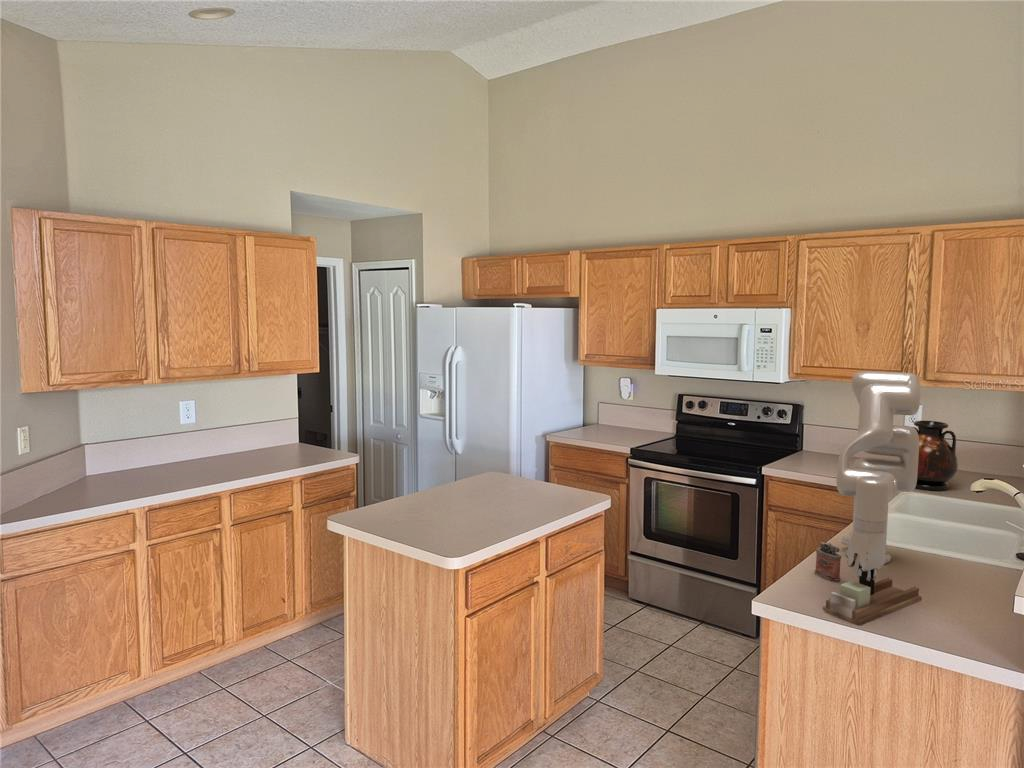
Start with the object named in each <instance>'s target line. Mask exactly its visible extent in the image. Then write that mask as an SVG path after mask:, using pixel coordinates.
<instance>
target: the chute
mask: <svg viewBox="0 0 1024 768" xmlns="http://www.w3.org/2000/svg"><path fill="white" fill-rule="evenodd" d="M919 593H920V588H919V587H916V586H913V587H911V588H907V589H905V590H904V589H902V588H898V587H895V586H893V578H890V577H887V578H885V579H884V578H883V579H881V580H878V581H876V582H875V583H874V594H873V595H870V604H869V605H866V606H864V607H861V608H858V609H856V610H855V604H856V600H854V599H851V598H849V597H846V596H843V595H841V594H840V593H838V592H836V591H832V592H830V599H826V601H825V605H824V606H822V611H823V610H824V611H823V612H825V611H826V613H828V614H830V613H831V614H830V615H832V616H834V617H835V616H836V617H837V616H838V618H840V619H843V620H845V621H848V622H850V623H853V624H855V625H857V626H861V625H864V624H866V623H870V622H871V621H874V620H876V619H878V617H879V618H881V617H884V616H886V615H888V613H889V614H891V613H894V612H896V611H899V610H900V609H903V608H906V607H908V606H910V605H913V604H915V603H917V602H920V601H922V596H921V595H919ZM890 612H891V613H890ZM883 615H884V616H883Z"/></svg>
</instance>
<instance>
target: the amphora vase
mask: <svg viewBox="0 0 1024 768" xmlns="http://www.w3.org/2000/svg"><path fill="white" fill-rule="evenodd" d="M913 425H914V426H912V427H913V428H914V429H916V431H917V433H918V436H919V456H918V474H917V484H916V487H915V489H919V490H924V491H932V492H933V491H936V492H937V491H938V492H939V491H945V490H948V489H949V488H950V483H949V481H950V480H951V479H953V478H954V477H955V476H956V474H957V472H958V468H959V467H958V465H959V463H958V457H957V455H956V450H957V449H956V446H957V435H956V434H955V432H954V431H952V430H945V431H943V430H944V429H947V428H949V424H948V423H946V422H941V421H935V420H915V421H914V422H913ZM915 426H916V427H917V428H916V427H915ZM947 434H950V435H951V438H952V442H951V443H952V444H951V445H950V443H949V442H948V441H947V440H946V438H945V436H946V435H947ZM899 460H901V458H899Z"/></svg>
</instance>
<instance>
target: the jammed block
mask: <svg viewBox="0 0 1024 768" xmlns="http://www.w3.org/2000/svg"><path fill="white" fill-rule="evenodd" d="M870 588H871V587H868V586H866V585H863V584H860V583H859V582H858V581H855V580H850V581H847V582H845V583H841V584H840V588H839V594H841V595H843V596H846V597H849V598H851V599H854V600H856V604H855V610H856V609H858V608H861V607H864V606H866V605H869V604H870Z"/></svg>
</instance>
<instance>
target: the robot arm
mask: <svg viewBox="0 0 1024 768" xmlns="http://www.w3.org/2000/svg"><path fill="white" fill-rule="evenodd" d="M851 386H852V390H853V393H854V396H855V398H856V400H857V402H858V406H859V409H858V411H859V412H858V425H857V426H858V427H857V434H856V435H855V436H854V437H853V438H851V439H850V440H849V441H848V442H847V443H846V444H845V445H844V446H843V447H842V449H841V452H840V453H839V456H838V460H837V470H836V471H837V472H836V481H835V482H836V488H837V491H838V492H839V494H840V495H842V496H845V497H852V498H853V511H852V512H853V513H852V532H851V535H850V537H847V536H842V538H841V540H840V544H841V545H844V546H847V549H846V550H845V555H846V557H847V565H848V567H849V568H853V571H852V573H853V575H855V576H857V577H858V583H860V584H863V585H866V586H868V587H871V588H870V595H873V594H874V583H876V582H875V580H876V578H877V572H878V571H879V570H880V569H881V568H882V566H884V565H885V564H889V563H890V562H892V561H891V560H892V556H891V554H889V553H888V552H887V534H888V517H889V501H890V500H892V498H893V497H894V496H895V495H896V493H897V492H899V493H910V492H913V491H914V490H915V489H916V488H915V487H916V484H917V474H918V456H919V436H918V433H917V431H916V429H917V428H916V429H914V428H913V427H914V426H910V425H903V424H902V425H900V424H894V416H895V415H896V416H897V415H899V416H914V415H916V414H917V412H918V411H919V409H920V404H921V387H920V386H921V383H920V379H919V377H918V376H917V375H916V374H914V373H912V372H903V371H902V372H898V371H897V372H896V371H876V370H872V371H871V370H869V371H868V370H867V371H866V370H865V371H859V372H856V373H855V374H853V375H852V378H851ZM861 452H863V453H866V454H868V455H876V456H884V457H885V456H886V457H898V458H899V459H890V458H881V457H872V456H871V457H867V456H866V457H861V458H857V459H856V460H855V461H854V462H853V464H852V467H851V468H850V467H849V465H850V461H851V459H852V458H853V457H854V456H856V455H857V454H858V453H861ZM900 458H901V460H900Z"/></svg>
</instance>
